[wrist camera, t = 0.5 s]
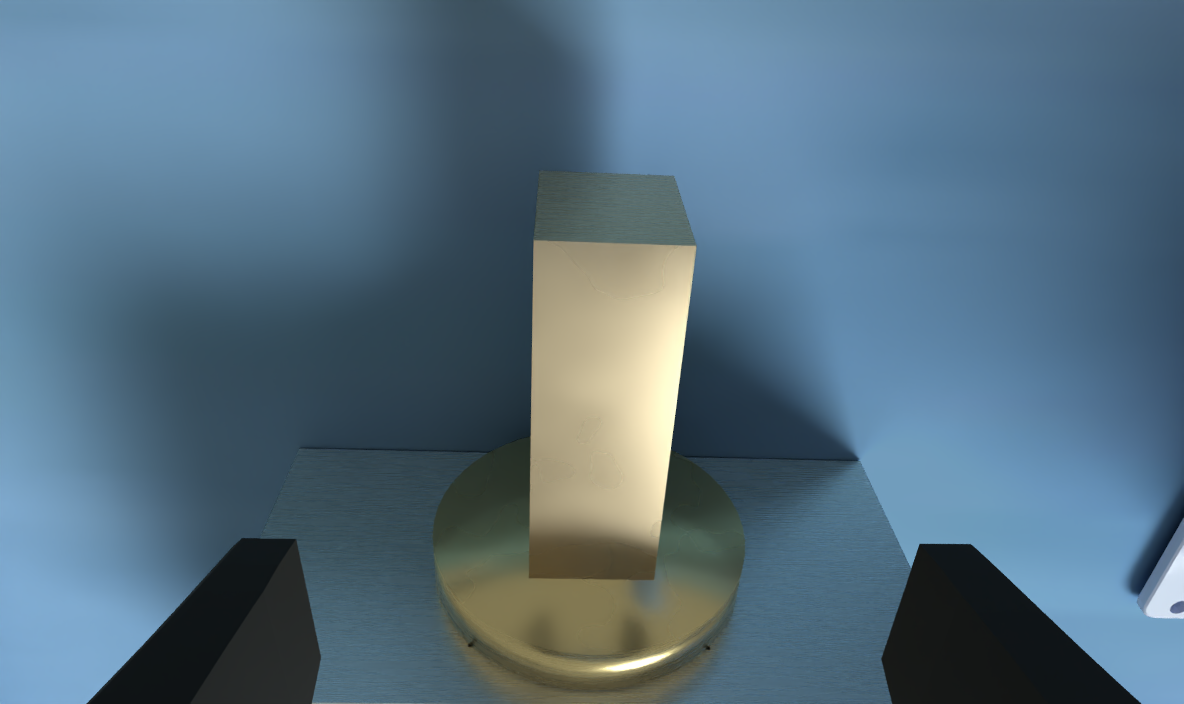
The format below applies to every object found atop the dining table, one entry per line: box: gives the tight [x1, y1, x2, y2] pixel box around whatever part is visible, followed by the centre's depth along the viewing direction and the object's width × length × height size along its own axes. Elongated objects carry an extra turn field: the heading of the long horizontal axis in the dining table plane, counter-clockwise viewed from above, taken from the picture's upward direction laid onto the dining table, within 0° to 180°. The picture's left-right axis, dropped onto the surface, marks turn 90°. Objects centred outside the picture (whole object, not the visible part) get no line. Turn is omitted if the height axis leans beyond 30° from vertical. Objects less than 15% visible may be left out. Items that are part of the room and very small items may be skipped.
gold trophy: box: [432, 171, 745, 690], centre depth 17 cm, size 6×14×6 cm, turn 177°
